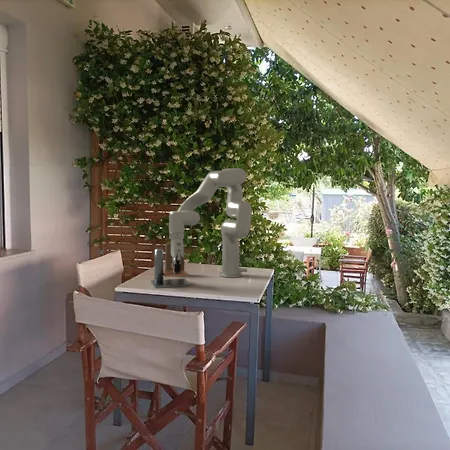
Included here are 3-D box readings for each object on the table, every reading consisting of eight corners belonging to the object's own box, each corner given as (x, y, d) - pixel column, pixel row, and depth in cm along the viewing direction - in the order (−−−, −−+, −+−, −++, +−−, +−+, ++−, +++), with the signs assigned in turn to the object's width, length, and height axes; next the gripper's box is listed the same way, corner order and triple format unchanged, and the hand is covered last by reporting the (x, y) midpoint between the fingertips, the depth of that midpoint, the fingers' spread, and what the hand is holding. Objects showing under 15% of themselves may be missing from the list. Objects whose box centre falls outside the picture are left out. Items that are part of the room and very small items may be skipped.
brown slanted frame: (184, 275, 249) (184, 243, 247) (165, 275, 247) (165, 243, 246) (183, 274, 252) (184, 242, 251) (164, 274, 251) (164, 242, 249)
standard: (155, 288, 216) (155, 251, 215) (150, 282, 230) (150, 247, 228) (191, 286, 222) (191, 250, 221) (184, 280, 235) (184, 246, 234)
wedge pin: (178, 274, 228) (178, 255, 227) (179, 275, 225) (180, 256, 225) (172, 274, 227) (172, 255, 227) (174, 275, 225) (174, 256, 224)
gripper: (187, 237, 218) (187, 273, 220) (180, 233, 234) (180, 268, 235) (172, 237, 216) (172, 274, 217) (166, 233, 231) (166, 268, 233)
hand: (176, 270), depth 226 cm, fingers closed on wedge pin, 3 cm apart
